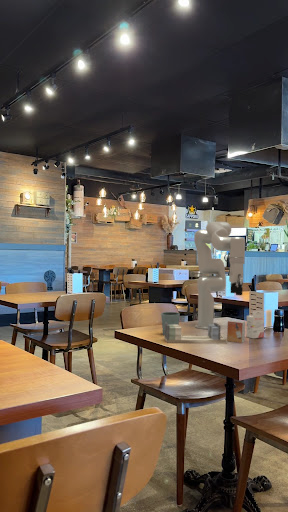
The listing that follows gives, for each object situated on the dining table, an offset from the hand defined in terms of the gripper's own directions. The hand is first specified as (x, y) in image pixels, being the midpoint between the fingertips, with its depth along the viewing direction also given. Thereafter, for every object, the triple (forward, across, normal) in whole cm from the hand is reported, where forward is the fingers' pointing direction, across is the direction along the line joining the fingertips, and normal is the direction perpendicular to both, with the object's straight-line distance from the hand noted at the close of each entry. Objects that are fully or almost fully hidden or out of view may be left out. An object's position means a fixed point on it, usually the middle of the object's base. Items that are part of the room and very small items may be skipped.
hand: (236, 294), depth 218 cm
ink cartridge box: (+25, -11, +14) cm, 31 cm away
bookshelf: (+25, +1, -21) cm, 33 cm away
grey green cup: (+25, -16, -32) cm, 43 cm away
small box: (+25, -1, +1) cm, 25 cm away
